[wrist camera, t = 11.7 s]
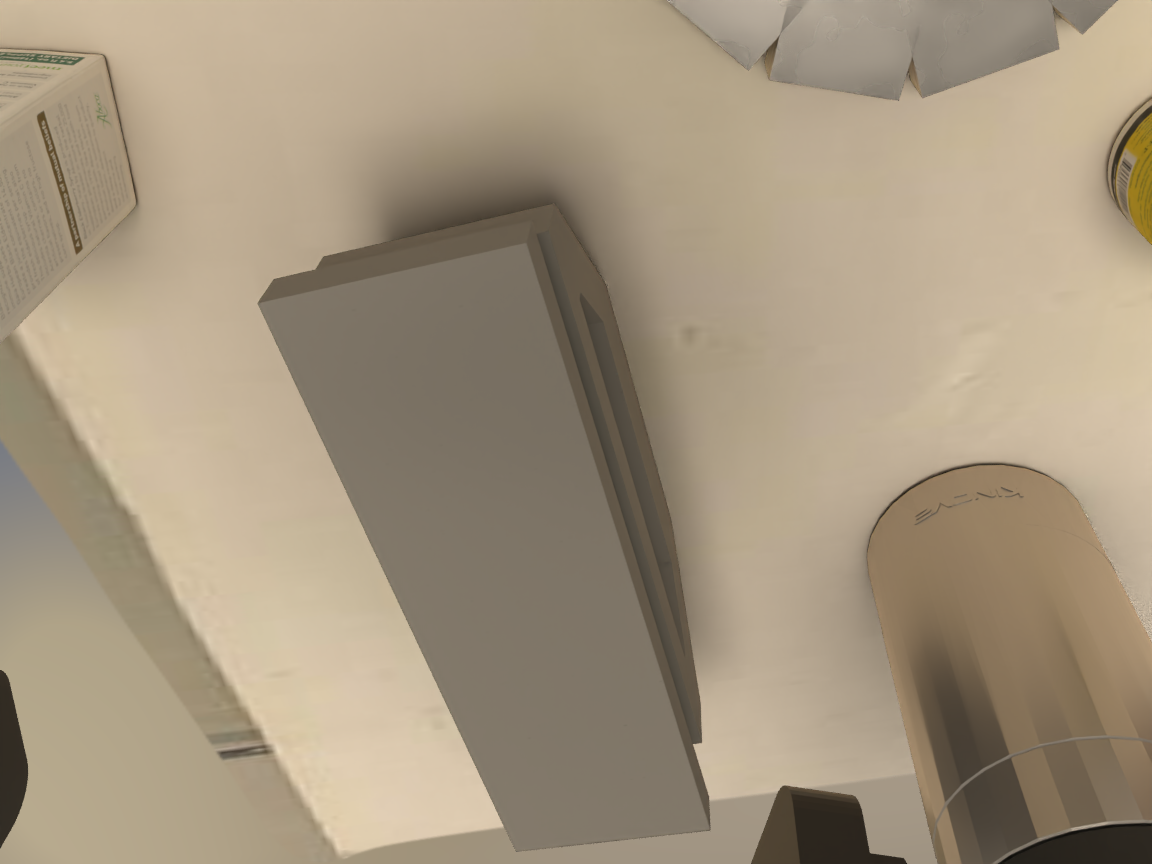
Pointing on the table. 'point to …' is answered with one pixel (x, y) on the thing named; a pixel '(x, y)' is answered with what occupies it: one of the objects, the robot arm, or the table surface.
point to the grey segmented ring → (886, 38)
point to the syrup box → (55, 172)
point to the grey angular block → (512, 513)
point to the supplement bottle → (1134, 171)
